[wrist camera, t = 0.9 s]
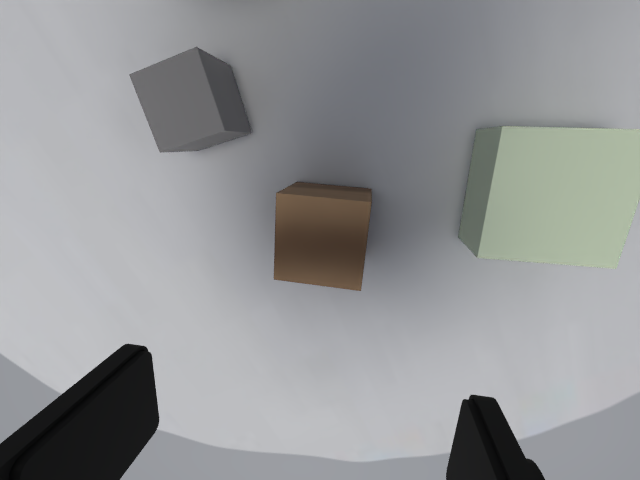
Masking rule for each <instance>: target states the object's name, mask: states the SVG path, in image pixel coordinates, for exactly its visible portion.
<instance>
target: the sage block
mask: <svg viewBox="0 0 640 480" xmlns="http://www.w3.org/2000/svg"><path fill="white" fill-rule="evenodd" d="M639 199H640V129H603V128H560V127H517V126H500V127H492V128H485V129H477V130H476V135H475V140H474V146H473V152H472V158H471V164H470V170H469V176H468V182H467V188H466V194H465V200H464V206H463V212H462V217H461V223H460V229H459V235H458V237H459V238H460V240H461V241H462V242H463V243H464V244H465V245H466V246H467V247H468V248H469V249H470V250H471V252H472V253H473V254H474V255H475V256H476V257H477V258H485V259H498V260H511V261H523V262H536V263H549V264H561V265H574V266H587V267H599V268H612V269H616V268H617V265H618V262H619V259H620V256H621V253H622V250H623V247H624V244H625V241H626V238H627V235H628V232H629V229H630V226H631V223H632V220H633V217H634V214H635V211H636V208H637V205H638V202H639Z"/></svg>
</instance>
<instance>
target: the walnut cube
mask: <svg viewBox="0 0 640 480" xmlns="http://www.w3.org/2000/svg"><path fill="white" fill-rule="evenodd" d="M371 203H372V192H371V189H369V188H358V187H347V186H336V185H325V184H314V183H304V182H296V183H294V184H292V185H290V186H288V187H286V188H285V189H283V190H281V191H279V192H277V193H276V220H275V256H274V279H275V280H282V281H290V282H297V283H305V284H312V285H320V286H328V287H335V288H343V289H350V290H358V291H361V286H362V278H363V269H364V261H365V253H366V245H367V236H368V228H369V220H370V212H371Z"/></svg>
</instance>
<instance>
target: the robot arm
mask: <svg viewBox="0 0 640 480" xmlns="http://www.w3.org/2000/svg"><path fill="white" fill-rule="evenodd" d="M158 424H159V413H158V405H157V396H156V388H155V379H154V371H153V362H152V355H151V353H150V352H148V349H147V348H146V347H145V346H140V345H133V344H125V345H123V346H122V347H121V348H119V349H118V350H117V351H116V352H114V353H113V354H112V355H111V356H109V357H108V358H107V359H106V360H104V361H103V362H102V363H101V364H99V365H98V366H97V367H96V368H94V369H93V370H92V371H91V372H89V373H88V374H87V375H86V376H84V377H83V378H82V379H81V380H79V381H78V382H77V383H76V384H74V385H73V386H72V387H71V388H69V389H68V390H67V391H66V392H64V393H63V394H62V395H61V396H59V397H58V398H57V399H56V400H54V401H53V402H52V403H51V404H49V405H48V406H47V407H46V408H44V409H43V410H42V411H41V412H39V413H38V414H37V415H36V416H34V417H33V418H32V419H31V420H29V421H28V422H27V423H26V424H25V425H23V426H22V427H21V428H19V429H18V430H17V431H16V432H14V433H13V434H12V435H11V436H9V437H8V438H7V439H6V440H4V441H3V442H2V443H1V444H0V480H120V478H121V477H122V476H123V474H124V473H125V472H126V470H127V469H128V468H129V466H130V465H131V464H132V462H133V461H134V460H135V458H136V457H137V456H138V454H139V453H140V452H141V450H142V449H143V448H144V446H145V445H146V444H147V442H148V441H149V440H150V438H151V437H152V436H153V434H154V433H155V431H156V430H157V427H158ZM446 480H545V479H544V477H543V475H542V473H541V471H540V470H539V468H538V466H537V465H536V463H534V462H533V461H532V460H530V459H526V458H525V456H524V454H523V452H522V450H521V448H520V446H519V444H518V442H517V440H516V438H515V436H514V434H513V432H512V430H511V428H510V426H509V424H508V422H507V420H506V418H505V416H504V414H503V412H502V410H501V408H500V406H499V404H498V402H497V401H496V399H494V398H492V397H485V396H478V395H471V396H470V397H469V400H466V399H464V400H463V401H462V405H461V409H460V414H459V418H458V423H457V427H456V431H455V436H454V440H453V445H452V449H451V454H450V458H449V463H448V467H447V473H446Z"/></svg>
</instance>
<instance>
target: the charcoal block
mask: <svg viewBox="0 0 640 480" xmlns="http://www.w3.org/2000/svg"><path fill="white" fill-rule="evenodd" d="M130 78H131V80H132V83H133V85H134V88H135V90H136V93H137V96H138V98H139V101H140V103H141V106H142V108H143V111H144V113H145V116H146V118H147V121H148V123H149V126H150V129H151V131H152V134H153V136H154V139H155V141H156V144H157V146H158V149H159V151H160V152H183V151H199V150H202V149H205V148H208V147H211V146H214V145H217V144H220V143H223V142H226V141H229V140H233V139H236V138H239V137H242V136H245V135H248V134H251V133H252V131H251V128H250V125H249V121H248V118H247V115H246V112H245V109H244V106H243V103H242V100H241V96H240V93H239V90H238V87H237V84H236V81H235V78H234V75H233V71H232V68H231V66H230V65H228V64H227V63H225V62H223V61H221V60H219V59H217V58H216V57H214V56H212V55H210V54H208V53H207V52H205V51H203V50H201V49H199V48H198V47H195V48H193V49H190V50H188V51H185V52H183V53H181V54H178V55H176V56H173V57H171V58H168V59H166V60H164V61H161V62H159V63H156V64H154V65H151V66H149V67H147V68H144V69H142V70H139V71H137V72H134V73H132V74H130Z"/></svg>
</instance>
